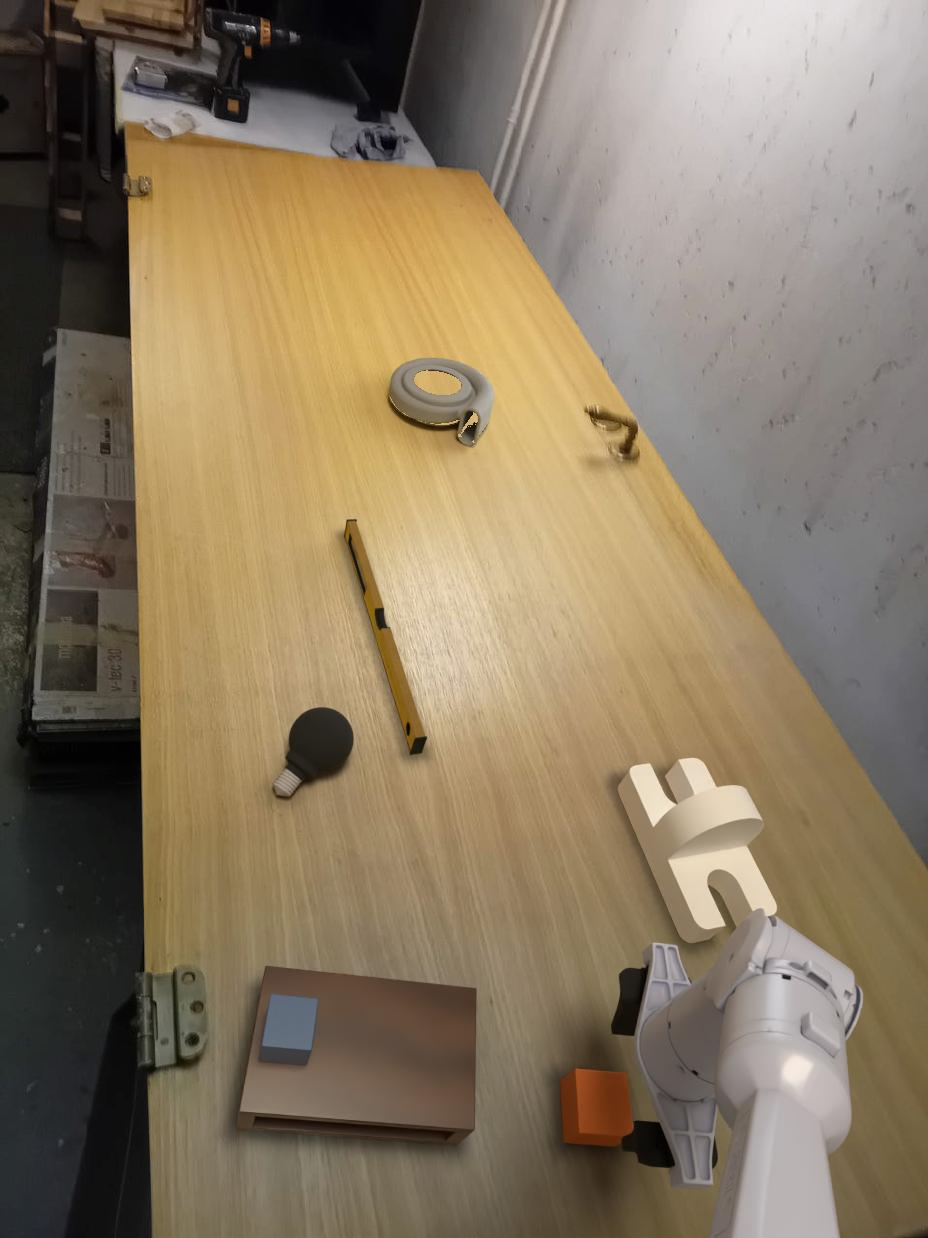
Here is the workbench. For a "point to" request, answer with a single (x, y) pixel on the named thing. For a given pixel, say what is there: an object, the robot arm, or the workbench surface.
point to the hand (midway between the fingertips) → (628, 1086)
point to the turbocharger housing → (444, 396)
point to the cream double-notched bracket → (697, 845)
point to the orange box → (595, 1107)
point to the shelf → (368, 1061)
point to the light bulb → (315, 747)
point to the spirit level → (385, 640)
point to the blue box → (289, 1029)
